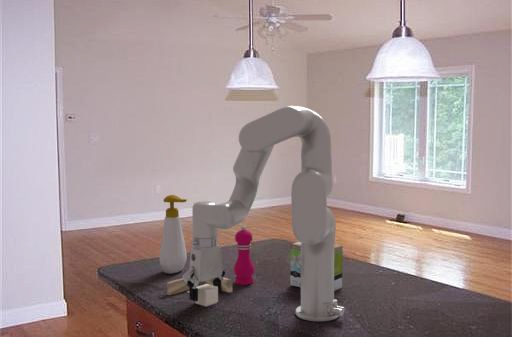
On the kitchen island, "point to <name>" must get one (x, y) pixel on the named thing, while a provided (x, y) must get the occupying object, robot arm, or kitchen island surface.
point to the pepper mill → (244, 258)
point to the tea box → (296, 265)
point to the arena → (180, 285)
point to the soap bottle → (172, 239)
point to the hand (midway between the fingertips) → (205, 296)
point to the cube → (207, 295)
